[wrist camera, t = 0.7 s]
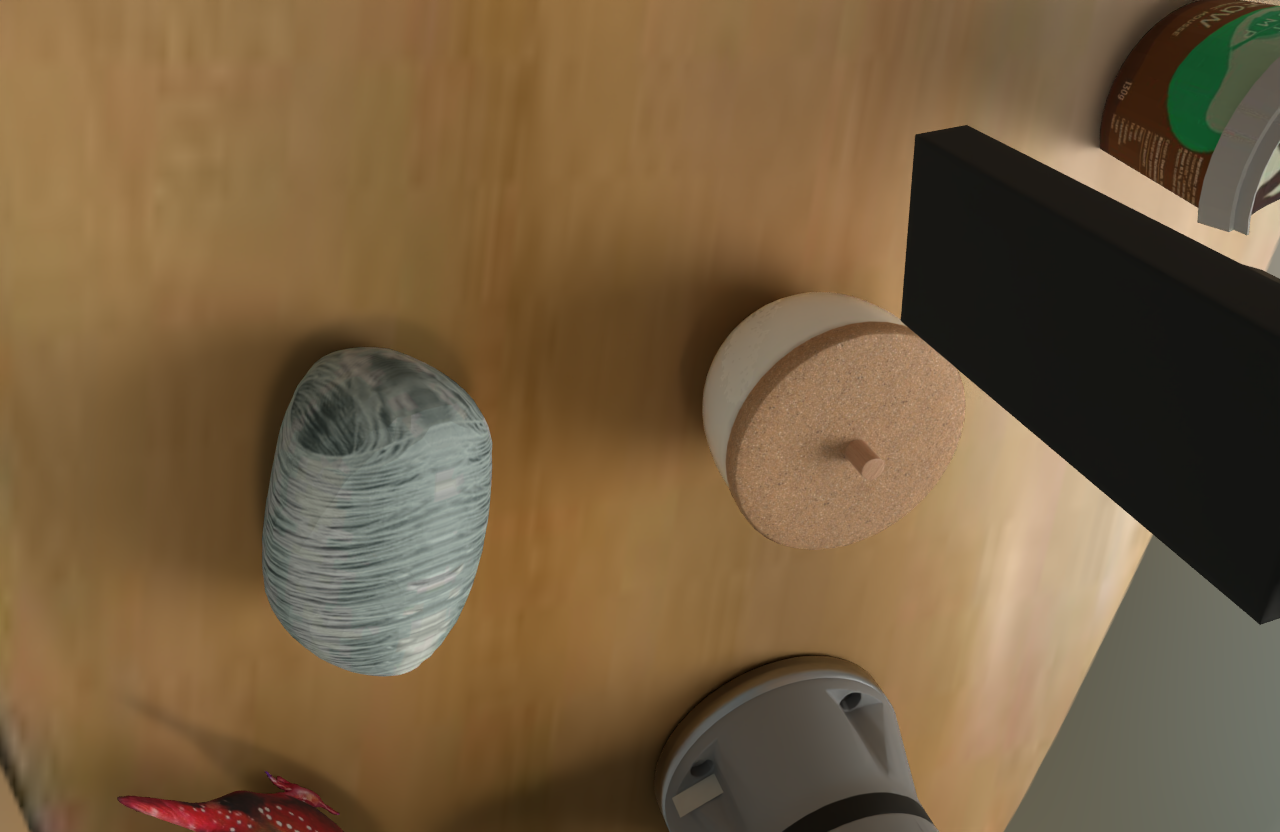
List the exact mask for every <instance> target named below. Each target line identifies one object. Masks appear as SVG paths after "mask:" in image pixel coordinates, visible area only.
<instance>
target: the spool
mask: <svg viewBox="0 0 1280 832" xmlns="http://www.w3.org/2000/svg"><path fill="white" fill-rule="evenodd" d="M491 478H492V440H491V435H490V431H489V427H488V425H487V423H486V420H485V418H484V416H483V415H482V413H481V412H480V410H479V408H478V407H477V405H476V403H475V402H474V400H473V399H472V398H471V397H470V396H469V395H468V393H467V392H466V391H465V390H464V389H463V388H461V387H460V386H459V385H458V384H457V383H456V382H454V381H453V380H452V379H450V378H449V377H448V376H446V375H445V374H443V373H442V372H440V371H439V370H437V369H435V368H434V367H432V366H430V365H428V364H426V363H424V362H422V361H420V360H418V359H415V358H413V357H411V356H409V355H406V354H404V353H401V352H398V351H395V350H392V349H387V348H377V347H357V348H349V349H344V350H339V351H335V352H332V353H330V354H328V355H326V356H324V357H322V358H321V359H319V360H318V361H317V362H316V363H314V364H313V366H312V367H311V368H310V370H309V371H308V372H307V374H306V375H305V376H304V378H303V379H302V380H301V382H300V383H299V384H298V386H297V388H296V390H295V392H294V395H293V397H292V399H291V402H290V404H289V406H288V408H287V410H286V413H285V416H284V419H283V422H282V425H281V428H280V432H279V436H278V441H277V447H276V452H275V457H274V462H273V467H272V472H271V478H270V484H269V490H268V496H267V501H266V508H265V517H264V526H263V536H262V544H263V549H262V568H263V576H264V584H265V592H266V594H267V597H268V600H269V603H270V605H271V608H272V610H273V611H274V613H275V615H276V616H277V618H278V619H279V621H280V622H281V624H282V625H283V626H284V628H285V629H286V630H287V631H288V632H289V633H290V634H291V636H292V637H293V638H295V639H296V640H297V641H298V642H299V643H301V644H302V645H303V646H304V647H305V648H307V649H308V650H310V651H311V652H312V653H314V654H315V655H316V656H318V657H319V658H320V659H323V660H325V661H327V662H329V663H331V664H333V665H335V666H338V667H340V668H343V669H345V670H348V671H351V672H355V673H360V674H365V675H372V676H393V675H401V674H404V673H407V672H410V671H411V670H413V669H415V668H417V667H418V666H419V665H420V664H421V663H422V662H423V661H424V660H425V659H427V658H429V657H431V655H432V654H433V652H434V651H435V650H436V649H437V648H438V647H439V646H440V645H441V644H442V642H443V641H444V639H445V638H446V636H447V635H448V633H449V632H450V630H451V629H452V627H453V626H454V624H455V623H456V621H457V620H458V617H459V615H460V613H461V611H462V609H463V607H464V604H465V602H466V600H467V598H468V595H469V593H470V590H471V588H472V584H473V581H474V578H475V575H476V572H477V568H478V564H479V561H480V557H481V554H482V550H483V544H484V538H485V533H486V527H487V522H488V516H489V505H490V494H491Z"/></svg>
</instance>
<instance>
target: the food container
mask: <svg viewBox="0 0 1280 832" xmlns="http://www.w3.org/2000/svg"><path fill="white" fill-rule="evenodd" d="M1100 149H1102V150H1103V151H1105V152H1107V153H1108V154H1110V155H1111V156H1113V157H1115V158H1116V159H1118V160H1120V161H1121V162H1123V163H1125V164H1126V165H1128V166H1130V167H1131V168H1133V169H1135V170H1136V171H1138V172H1140V173H1141V174H1143V175H1145V176H1146V177H1148V178H1150V179H1151V180H1153V181H1155V182H1156V183H1158V184H1160V185H1161V186H1163V187H1164V188H1166V189H1168V190H1169V191H1171V192H1173V193H1174V194H1176V195H1178V196H1179V197H1181V198H1183V199H1184V200H1186V201H1188V202H1189V203H1191V204H1193V205H1194V206H1196V207H1198V208H1199V209H1198V223H1201V224H1204V225H1207V226H1211V227H1214V228H1217V229H1221V230H1224V231H1227V232H1230V231H1232V230H1236V231H1238V232H1240V233H1243V234H1245V235H1248V234H1249V227H1250V218H1251V215H1252V214H1253V213H1255V212H1256V211H1258V210H1260V209H1261V208H1263V207H1265V206H1266V205H1268V204H1271V203H1273V202H1275V201H1277V200H1279V199H1280V6H1277V5H1270V4H1262V3H1255V2H1248V1H1241V0H1198V1H1195V2H1193V3H1190V4H1187V5H1185V6H1183V7H1181V8H1179V9H1177V10H1176V11H1174V12H1172V13H1170V14H1169V15H1168V16H1166V17H1165V18H1164V19H1162V20H1161V21H1160V22H1159V23H1157V24H1156V25H1155V26H1154V27H1153V28H1152V29H1151V30H1150V31H1149V32H1148V33H1147V34H1146V35H1145V36H1144V37H1143V38H1142V39H1141V40H1140V42H1139V43H1138V44H1137V45H1136V46H1135V48H1134V49H1133V50H1132V51H1131V53H1130V54H1129V56H1128V57H1127V59H1126V61H1125V62H1124V64H1123V65H1122V67H1121V69H1120V71H1119V73H1118V74H1117V76H1116V78H1115V80H1114V82H1113V85H1112V87H1111V90H1110V92H1109V95H1108V97H1107V100H1106V104H1105V108H1104V112H1103V115H1102V122H1101V129H1100Z"/></svg>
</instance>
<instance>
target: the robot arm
mask: <svg viewBox="0 0 1280 832" xmlns="http://www.w3.org/2000/svg"><path fill="white" fill-rule="evenodd" d="M901 322H902V323H903V324H905V325H906V326H907V327H908V328H909V329H911V330H912V331H913V332H914V333H915V334H916V335H918V336H919V337H920V338H921V339H922V340H924V341H925V342H926V343H927V344H928V345H930V346H931V347H932V348H933V349H934V350H935V351H937V352H938V353H939V354H940V355H941V356H943V357H944V358H945V359H946V360H947V361H948V362H950V363H951V364H952V365H953V366H954V367H956V368H957V369H958V370H959V371H960V372H961V373H963V374H964V375H965V376H966V377H967V378H969V379H970V380H971V381H972V382H973V383H975V384H976V385H977V386H978V387H979V388H980V389H982V390H983V391H984V392H985V393H986V394H988V395H989V396H990V397H991V398H992V399H993V400H995V401H996V402H997V403H998V404H999V405H1001V406H1002V407H1003V408H1004V409H1005V410H1006V411H1008V412H1009V413H1010V414H1011V415H1012V416H1014V417H1015V418H1016V419H1017V420H1018V421H1020V422H1021V423H1022V424H1023V425H1024V426H1025V427H1027V428H1028V429H1029V430H1030V431H1031V432H1033V433H1034V434H1035V435H1036V436H1037V437H1038V438H1040V439H1041V440H1042V441H1043V442H1044V443H1046V444H1047V445H1048V446H1049V447H1050V448H1051V449H1053V450H1054V451H1055V452H1056V453H1057V454H1059V455H1060V456H1061V457H1062V458H1063V459H1065V460H1066V461H1067V462H1068V463H1069V464H1070V465H1072V466H1073V467H1074V468H1075V469H1076V470H1078V471H1079V472H1080V473H1081V474H1082V475H1083V476H1085V477H1086V478H1087V479H1088V480H1089V481H1091V482H1092V483H1093V484H1094V485H1095V486H1096V487H1098V488H1099V489H1100V490H1101V491H1102V492H1104V493H1105V494H1106V495H1107V496H1108V497H1110V498H1111V499H1112V500H1113V501H1114V502H1115V503H1117V504H1118V505H1119V506H1120V507H1121V508H1123V509H1124V510H1125V511H1126V512H1127V513H1128V514H1130V515H1131V516H1132V517H1133V518H1134V519H1136V520H1137V521H1138V522H1139V523H1140V524H1141V525H1143V526H1144V527H1145V528H1146V529H1147V530H1149V531H1150V532H1151V533H1152V534H1153V535H1155V536H1156V537H1157V538H1158V539H1159V540H1160V541H1162V542H1163V543H1164V544H1165V545H1166V546H1168V547H1169V548H1170V549H1171V550H1172V551H1173V552H1175V553H1176V554H1177V555H1178V556H1179V557H1181V558H1182V559H1183V560H1184V561H1185V562H1187V563H1188V564H1189V565H1190V566H1191V567H1192V568H1194V569H1195V570H1196V571H1197V572H1198V573H1200V574H1201V575H1202V576H1203V577H1204V578H1205V579H1207V580H1208V581H1209V582H1210V583H1211V584H1213V585H1214V586H1215V587H1216V588H1218V589H1219V590H1220V591H1221V592H1222V593H1223V594H1224V595H1226V596H1227V597H1228V598H1229V599H1230V600H1232V601H1233V602H1234V603H1235V604H1236V605H1237V606H1239V607H1240V608H1241V609H1242V610H1243V611H1245V612H1246V613H1247V614H1248V615H1249V616H1250V617H1252V618H1253V619H1254V620H1255V621H1256V622H1258V623H1259V624H1260V625H1261V624H1264V623H1267V622H1270V621H1273V620H1275V619H1279V618H1280V279H1279V278H1277V277H1275V276H1273V275H1271V274H1269V273H1267V272H1265V271H1263V270H1260V269H1256V268H1253V267H1249V266H1246V265H1242V264H1240V263H1238V262H1236V261H1234V260H1232V259H1230V258H1228V257H1226V256H1224V255H1222V254H1220V253H1218V252H1216V251H1214V250H1212V249H1210V248H1208V247H1206V246H1204V245H1202V244H1201V243H1199V242H1197V241H1195V240H1193V239H1191V238H1189V237H1187V236H1185V235H1183V234H1181V233H1179V232H1177V231H1175V230H1173V229H1171V228H1169V227H1167V226H1165V225H1163V224H1161V223H1159V222H1157V221H1155V220H1153V219H1151V218H1149V217H1147V216H1145V215H1143V214H1141V213H1139V212H1137V211H1135V210H1133V209H1131V208H1129V207H1128V206H1126V205H1124V204H1122V203H1120V202H1118V201H1116V200H1114V199H1112V198H1110V197H1108V196H1106V195H1104V194H1102V193H1100V192H1098V191H1096V190H1094V189H1092V188H1090V187H1088V186H1086V185H1084V184H1082V183H1080V182H1078V181H1076V180H1074V179H1072V178H1070V177H1068V176H1066V175H1064V174H1062V173H1060V172H1058V171H1056V170H1055V169H1053V168H1051V167H1049V166H1047V165H1045V164H1043V163H1041V162H1039V161H1037V160H1035V159H1033V158H1031V157H1029V156H1027V155H1025V154H1023V153H1021V152H1019V151H1017V150H1015V149H1013V148H1011V147H1009V146H1007V145H1005V144H1003V143H1001V142H999V141H997V140H995V139H993V138H991V137H989V136H987V135H985V134H983V133H981V132H980V131H978V130H976V129H974V128H972V127H970V126H968V125H965V126H959V127H954V128H948V129H943V130H938V131H932V132H927V133H921V134H916V135H915V147H914V159H913V172H912V185H911V197H910V210H909V223H908V236H907V248H906V261H905V274H904V286H903V299H902V312H901ZM654 790H655V796H656V800H657V803H658V805H659V808H660V810H661V813H662V815H663V817H664V820H665V822H666V825H667V827H668V829H669V831H670V832H939V831H938V829H937V828H936V827H935V826H934V824H933V822H932V821H931V819H930V818H929V816H928V815H927V813H926V812H925V810H924V809H923V807H922V805H921V804H920V802H919V800H918V798H917V794H916V791H915V787H914V783H913V779H912V775H911V772H910V768H909V764H908V760H907V757H906V753H905V749H904V745H903V741H902V738H901V734H900V730H899V726H898V722H897V719H896V715H895V712H894V709H893V707H892V705H891V703H890V702H889V700H888V699H887V697H886V696H885V694H884V693H883V692H882V690H881V689H880V687H879V686H878V684H877V683H876V682H875V680H874V679H873V678H872V677H871V675H870V674H869V673H867V672H866V671H865V670H864V669H862V668H861V667H859V666H858V665H856V664H854V663H851V662H849V661H846V660H843V659H839V658H834V657H827V656H804V657H796V658H790V659H785V660H781V661H777V662H773V663H770V664H767V665H764V666H761V667H759V668H756V669H754V670H751V671H749V672H747V673H745V674H743V675H741V676H739V677H737V678H735V679H733V680H732V681H730V682H728V683H726V684H725V685H723V686H722V687H720V688H719V689H717V690H716V691H714V692H713V693H712V694H710V695H709V696H708V697H706V698H705V699H704V700H703V701H702V702H700V703H699V704H698V705H697V706H696V707H695V708H694V709H693V710H692V711H691V712H690V713H689V714H688V715H687V716H686V717H685V718H684V719H683V720H682V721H681V722H680V724H679V725H678V726H677V728H676V729H675V730H674V731H673V733H672V734H671V736H670V738H669V739H668V741H667V742H666V744H665V746H664V748H663V750H662V752H661V755H660V757H659V760H658V763H657V766H656V770H655V777H654Z"/></svg>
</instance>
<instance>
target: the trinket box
mask: <svg viewBox="0 0 1280 832" xmlns="http://www.w3.org/2000/svg"><path fill="white" fill-rule="evenodd" d="M702 414H703V424H704V430H705V434H706V438H707V442H708V445H709V448H710V452H711V455H712V457H713V459H714V462H715V464H716V466H717V468H718V470H719V472H720V474H721V476H722V478H723V479H724V481H725V483H726V485H727V486H728V488H729V490H730V491H731V494H732V496H733V498H734V500H735V502H736V504H737V506H738V507H739V509H740V511H741V512H742V514H743V515H744V517H745V518H746V519H747V520H748V522H749V523H750V524H751V525H752V526H753V527H754V529H756V530H757V531H758V532H760V533H761V534H762V535H764V536H765V537H766V538H768V539H770V540H772V541H774V542H777V543H779V544H782V545H785V546H789V547H793V548H800V549H810V550H816V549H829V548H835V547H840V546H846V545H849V544H852V543H855V542H858V541H861V540H863V539H866V538H868V537H870V536H872V535H874V534H877V533H879V532H881V531H882V530H884V529H886V528H887V527H889V526H890V525H892V524H894V523H895V522H897V521H898V520H899V519H901V518H902V517H903V516H905V515H906V514H907V513H909V512H910V511H911V510H912V509H913V508H914V507H915V506H916V505H917V504H919V503H920V502H921V501H922V500H923V499H924V498H925V497H926V495H927V494H928V493H929V492H930V491H931V490H932V489H933V487H934V486H935V485H936V484H937V482H938V481H939V479H940V478H941V476H942V475H943V473H944V472H945V470H946V469H947V467H948V465H949V463H950V461H951V460H952V458H953V456H954V454H955V452H956V449H957V446H958V443H959V440H960V438H961V434H962V429H963V425H964V421H965V394H964V387H963V383H962V380H961V377H960V374H959V372H958V370H957V368H956V367H954V366H953V365H952V364H951V363H950V362H948V361H947V360H946V359H945V358H944V357H943V356H941V355H940V354H939V353H938V352H937V351H935V350H934V349H933V348H932V347H931V346H930V345H928V344H927V343H926V342H925V341H924V340H922V339H921V338H920V337H919V336H918V335H916V334H915V333H914V332H913V331H912V330H911V329H909V328H908V327H907V326H906V325H905V324H903V323H902V322H901V320H900V319H899V318H898V317H896V316H895V315H893V314H892V313H890V312H888V311H886V310H884V309H883V308H881V307H879V306H877V305H874V304H872V303H870V302H867V301H865V300H862V299H859V298H856V297H854V296H849V295H845V294H840V293H830V292H809V293H801V294H796V295H792V296H789V297H785V298H782V299H779V300H776V301H774V302H772V303H769V304H767V305H765V306H763V307H762V308H760V309H758V310H757V311H755V312H753V313H752V314H751V315H750V316H748V317H747V318H746V319H744V320H743V321H742V322H741V323H740V324H739V325H738V326H737V327H736V328H735V329H734V330H733V331H732V332H731V333H730V334H729V336H728V337H727V338H726V339H725V341H724V342H723V343H722V345H721V346H720V348H719V350H718V352H717V353H716V355H715V357H714V359H713V362H712V364H711V367H710V369H709V372H708V375H707V378H706V382H705V387H704V391H703V413H702Z"/></svg>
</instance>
